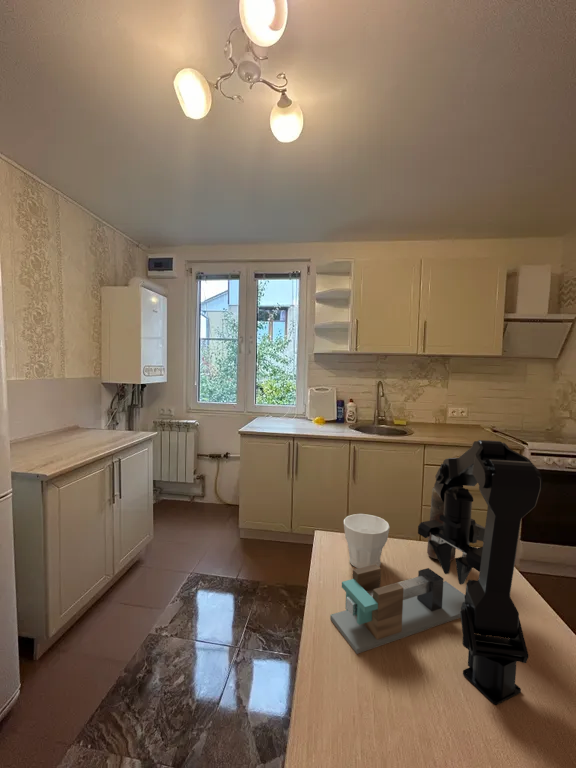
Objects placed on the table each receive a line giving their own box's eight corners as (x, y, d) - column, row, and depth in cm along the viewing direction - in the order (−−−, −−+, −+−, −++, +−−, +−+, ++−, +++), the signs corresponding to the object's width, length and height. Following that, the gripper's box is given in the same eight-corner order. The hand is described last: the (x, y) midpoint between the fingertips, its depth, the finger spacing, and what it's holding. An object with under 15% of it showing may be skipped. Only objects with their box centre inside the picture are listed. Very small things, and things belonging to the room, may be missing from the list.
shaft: (442, 608, 80) (443, 578, 79) (354, 637, 70) (356, 604, 70) (427, 596, 84) (428, 567, 83) (342, 622, 74) (343, 591, 74)
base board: (480, 610, 80) (481, 606, 80) (356, 654, 68) (356, 649, 68) (445, 584, 90) (445, 580, 90) (330, 619, 77) (330, 614, 77)
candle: (457, 555, 104) (460, 487, 102) (454, 567, 97) (458, 495, 96) (429, 548, 107) (432, 482, 106) (424, 559, 101) (428, 490, 100)
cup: (338, 569, 95) (339, 529, 95) (346, 546, 107) (347, 510, 106) (386, 579, 91) (388, 537, 91) (389, 554, 103) (390, 517, 103)
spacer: (377, 626, 70) (377, 603, 70) (364, 630, 69) (365, 606, 68) (353, 600, 78) (353, 578, 77) (341, 603, 77) (341, 581, 76)
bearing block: (401, 636, 72) (403, 587, 72) (376, 644, 70) (378, 594, 69) (374, 607, 81) (375, 564, 80) (351, 614, 78) (353, 569, 78)
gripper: (520, 525, 77) (516, 594, 78) (450, 495, 94) (447, 552, 95) (483, 533, 73) (479, 607, 74) (417, 500, 90) (414, 560, 91)
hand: (453, 578), depth 84 cm, fingers open, 4 cm apart
